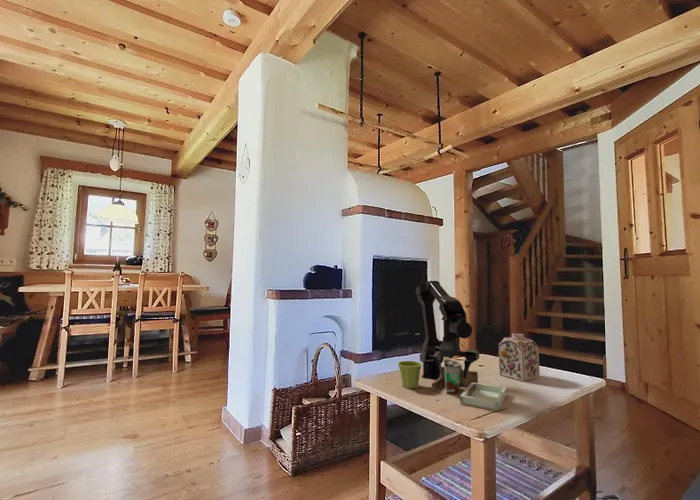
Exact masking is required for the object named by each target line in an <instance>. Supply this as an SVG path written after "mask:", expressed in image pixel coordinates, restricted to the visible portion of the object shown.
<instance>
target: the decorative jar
mask: <svg viewBox="0 0 700 500" xmlns="http://www.w3.org/2000/svg"><path fill="white" fill-rule="evenodd" d="M539 352H540V351H539V346H538V344H537V343H536V341H534V340H532V339H531V338H528V337H527V338H526V337H525V335H524V334H522V333H511V336H508V337H506V336H505V337H503V339H502V340H501V341H500V342H499V343H498V369H499V370H498V371H499V375H500V376H502V377H505V378H508V379H512V380H515V381H520V382H523V383H525V382H529V381H533V380H536V379H539V378H540V372H541V371H540V355H539Z"/></svg>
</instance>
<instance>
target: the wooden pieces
mask: <svg viewBox="0 0 700 500" xmlns="http://www.w3.org/2000/svg"><path fill="white" fill-rule="evenodd" d="M478 377H479V372H478V371H474V370H468V373H467V376H466V378H464V369H462V371H460V387H466V388H468V386H469V385H470V384H471V383H472V382H474V383H479V380H478V379H479V378H478ZM443 384H445V372H444V366H441V376H440V377H439V378H438V379H435V380H434V382H432V383H431V392H436V391H437V390H438V389H439V388H440V387H442V385H443ZM475 389H476V384H474V385H473V386H472V387H471V388H470V389H469V396H471V395H472V393H473V392H474V391H475Z"/></svg>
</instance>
